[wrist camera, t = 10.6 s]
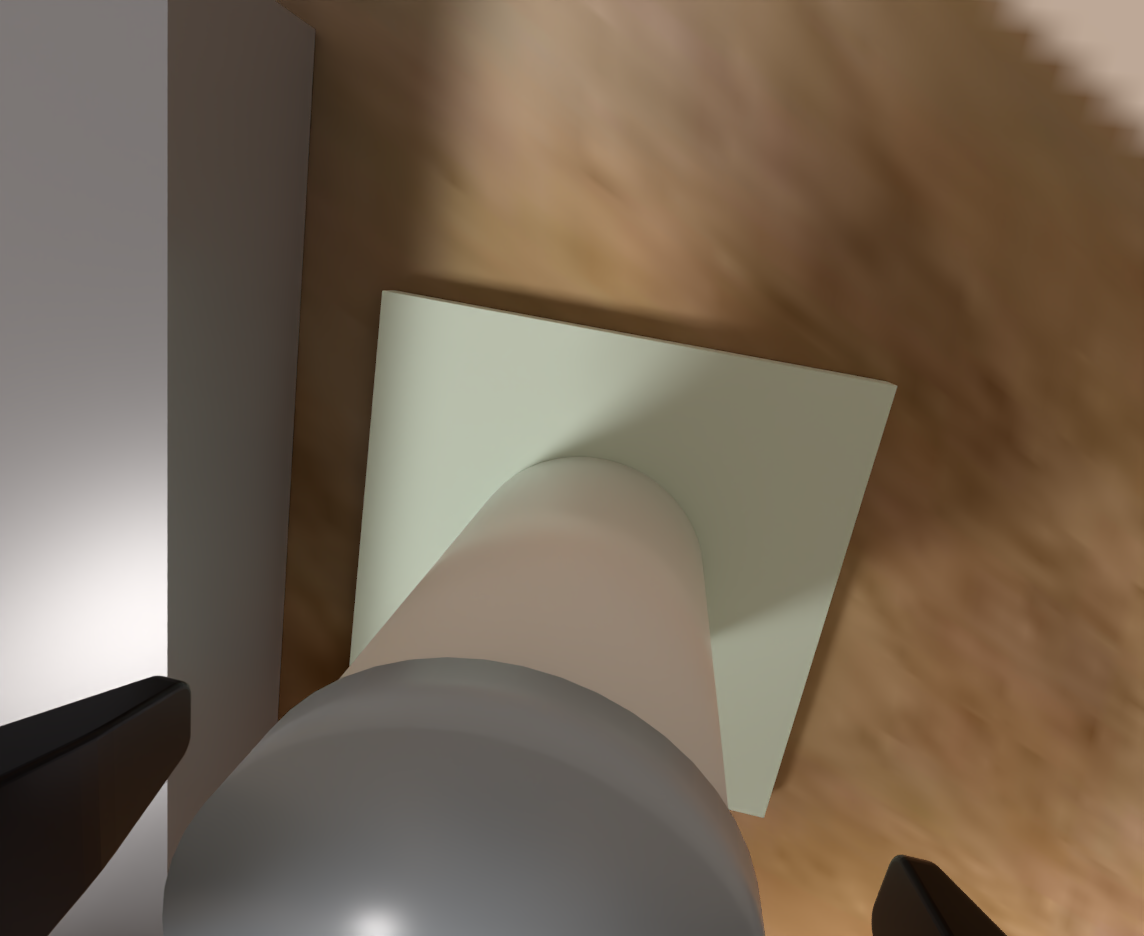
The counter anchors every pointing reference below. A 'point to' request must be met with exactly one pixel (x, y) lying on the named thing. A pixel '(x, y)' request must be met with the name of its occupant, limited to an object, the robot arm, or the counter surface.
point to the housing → (149, 378)
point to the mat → (647, 444)
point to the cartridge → (499, 747)
